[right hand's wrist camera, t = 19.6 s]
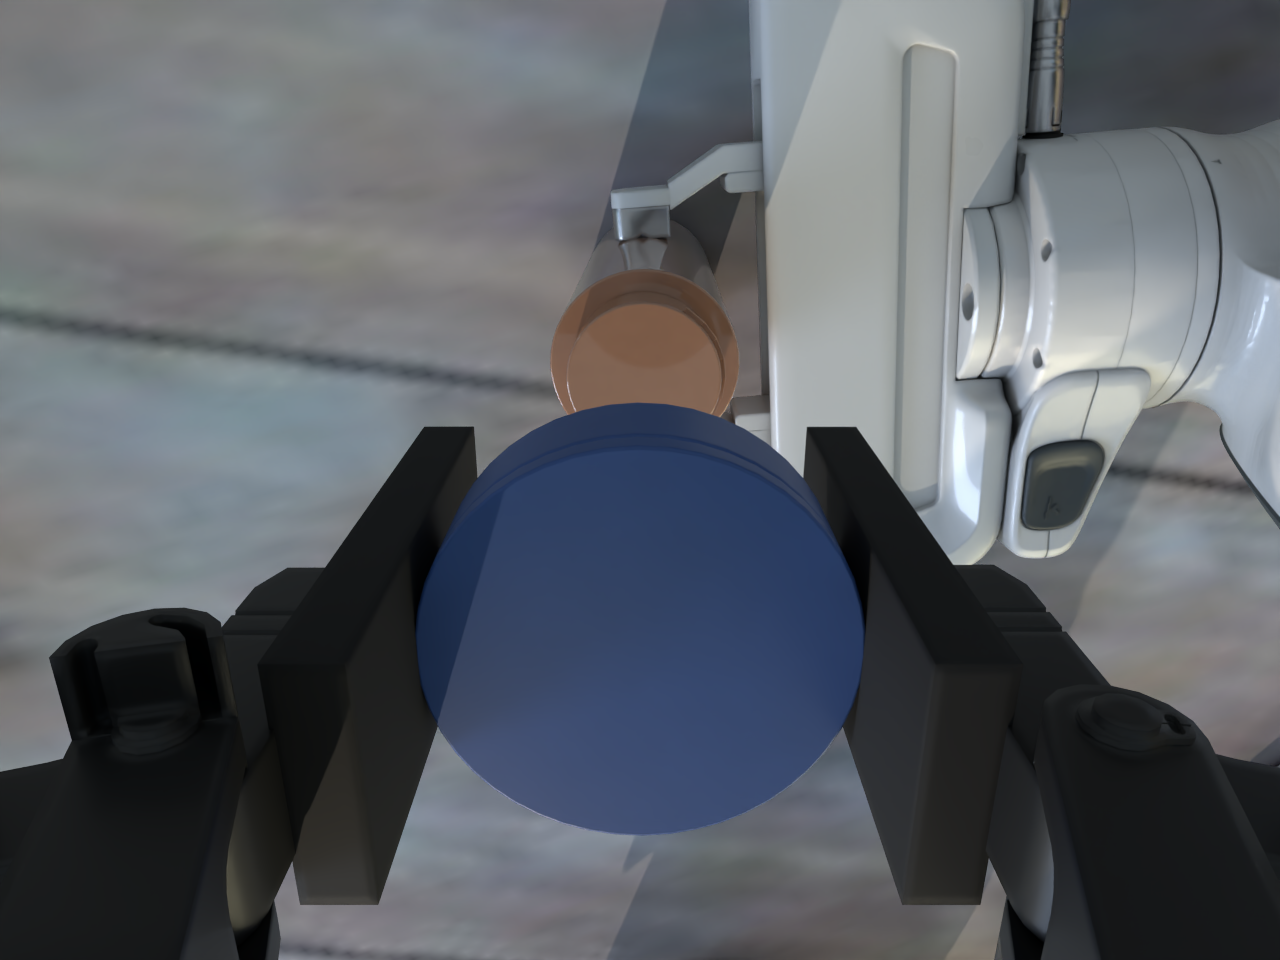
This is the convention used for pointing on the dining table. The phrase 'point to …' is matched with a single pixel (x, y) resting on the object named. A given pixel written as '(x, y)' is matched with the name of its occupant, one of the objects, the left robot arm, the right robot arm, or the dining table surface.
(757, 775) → the lid
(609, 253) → the jar
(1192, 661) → the dining table surface
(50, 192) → the dining table surface
